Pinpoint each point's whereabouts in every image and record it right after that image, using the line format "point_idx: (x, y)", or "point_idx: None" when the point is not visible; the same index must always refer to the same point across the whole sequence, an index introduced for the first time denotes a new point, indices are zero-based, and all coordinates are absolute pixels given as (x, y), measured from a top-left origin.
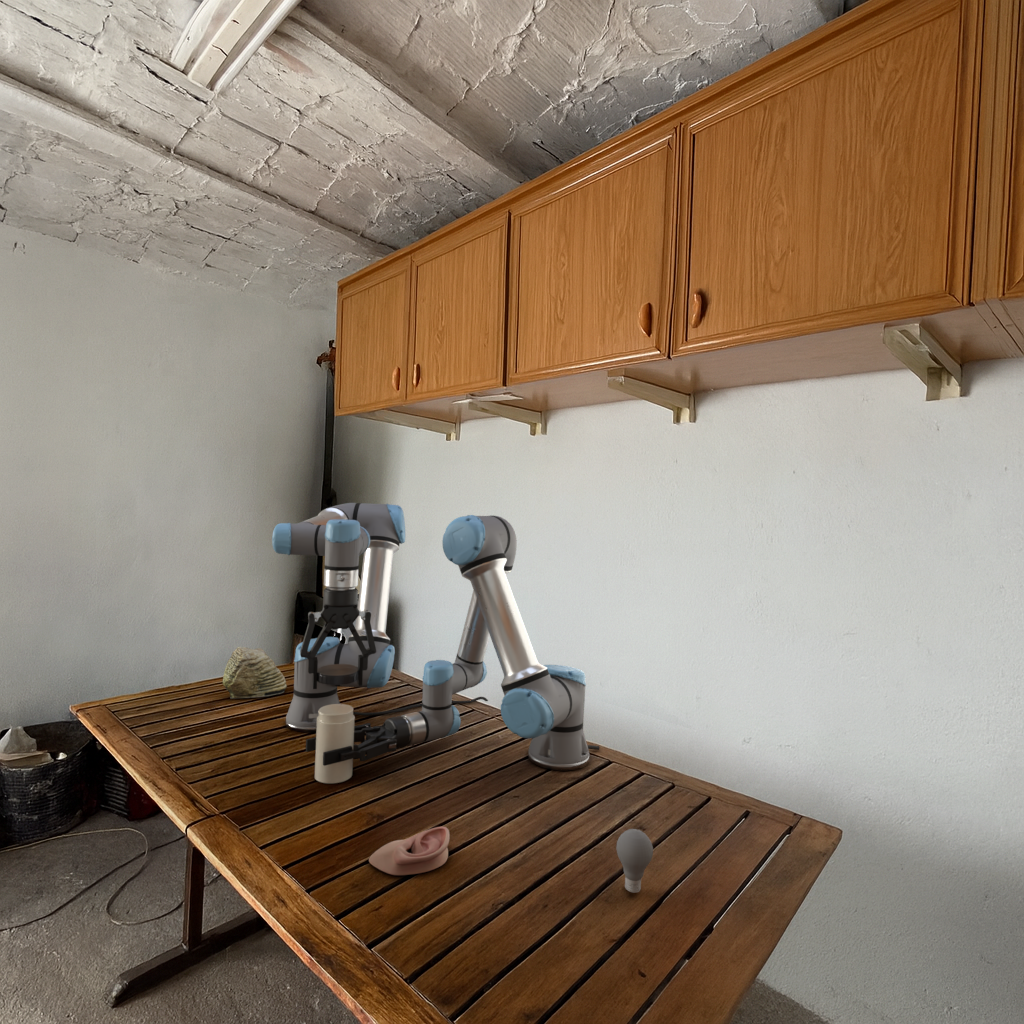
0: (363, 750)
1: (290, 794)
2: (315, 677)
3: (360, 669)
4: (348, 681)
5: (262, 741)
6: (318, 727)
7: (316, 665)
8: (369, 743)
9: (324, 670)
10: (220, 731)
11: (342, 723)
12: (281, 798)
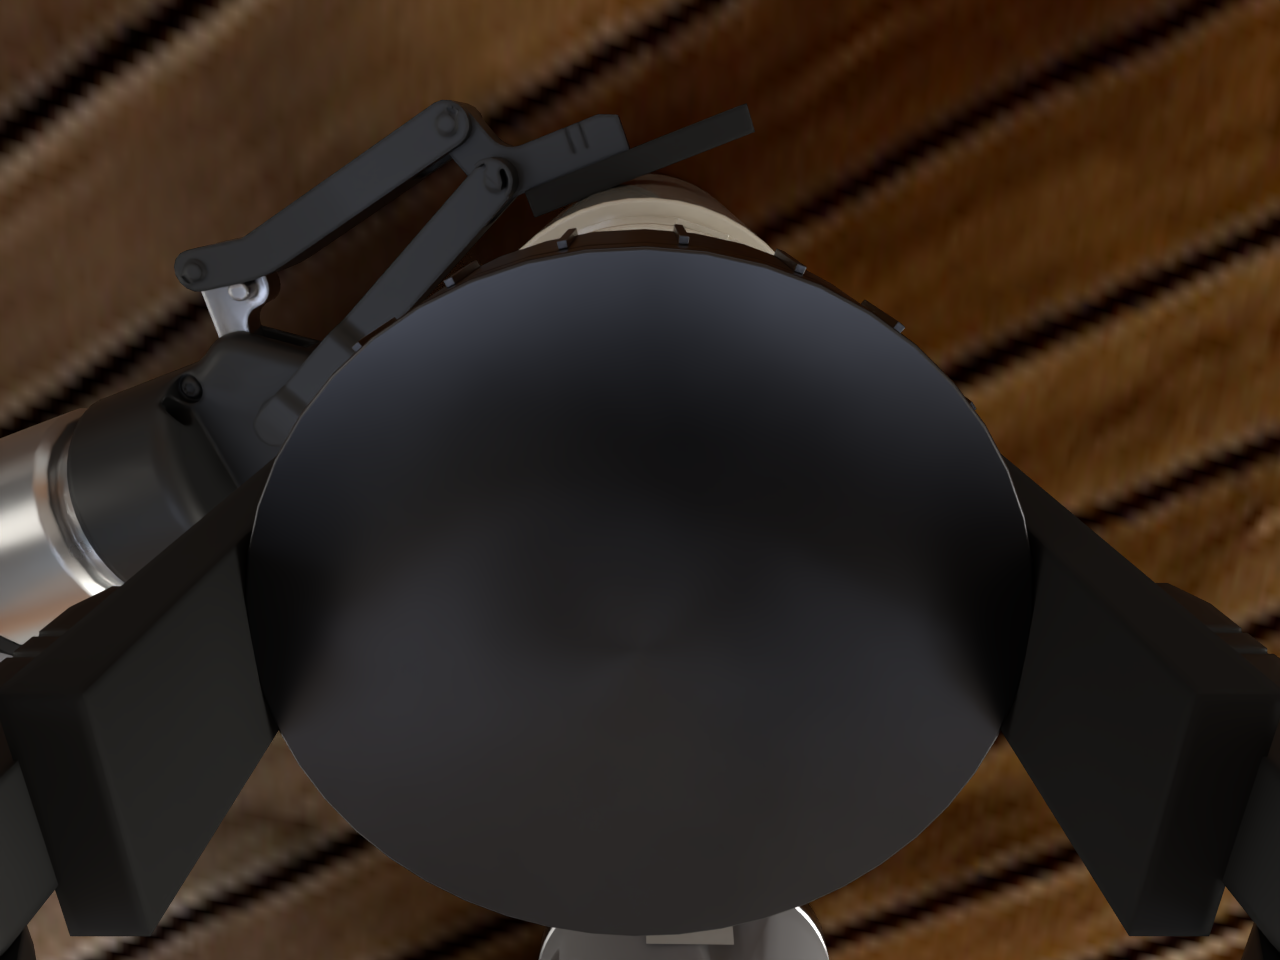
0: (441, 104)
1: (915, 89)
2: (1033, 512)
3: (207, 552)
4: (478, 268)
5: (959, 802)
6: None
7: (1144, 618)
8: (390, 267)
9: (890, 643)
10: (1130, 947)
11: (598, 206)
12: (972, 46)
